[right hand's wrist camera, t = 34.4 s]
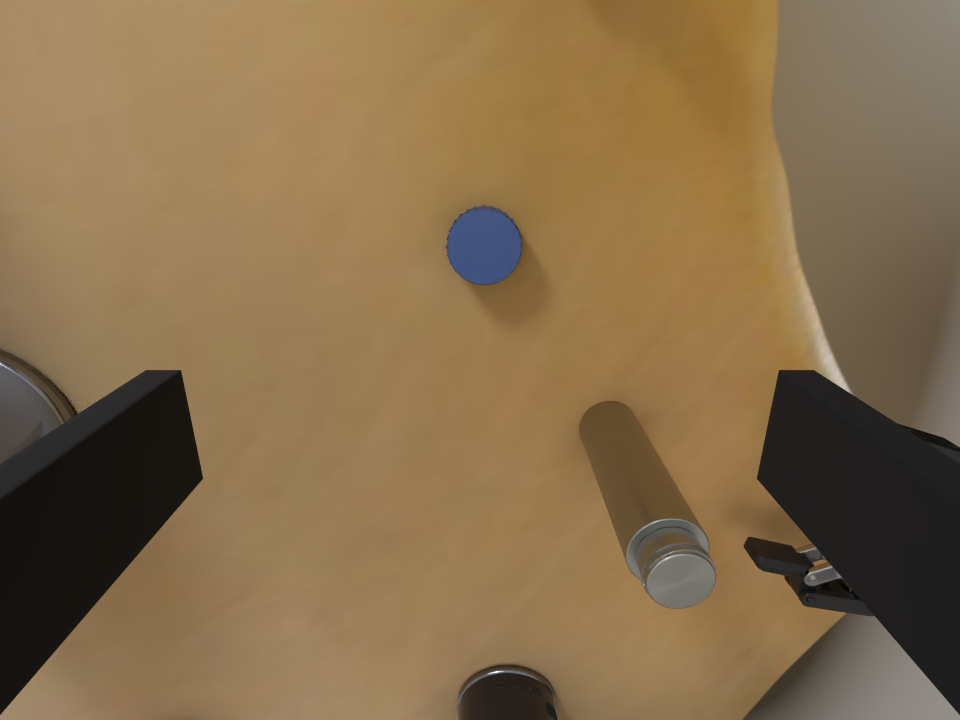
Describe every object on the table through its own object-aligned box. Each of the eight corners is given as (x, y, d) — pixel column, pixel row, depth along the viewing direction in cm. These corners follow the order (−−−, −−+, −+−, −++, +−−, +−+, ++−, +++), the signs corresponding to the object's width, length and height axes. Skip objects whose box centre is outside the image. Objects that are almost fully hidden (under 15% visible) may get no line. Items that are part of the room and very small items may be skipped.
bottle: (648, 419, 42) (745, 571, 27) (613, 461, 44) (687, 629, 28) (602, 391, 42) (675, 531, 26) (568, 435, 43) (618, 593, 27)
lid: (434, 255, 38) (432, 261, 36) (471, 191, 37) (470, 193, 34) (495, 291, 39) (496, 299, 37) (533, 230, 38) (537, 235, 35)
